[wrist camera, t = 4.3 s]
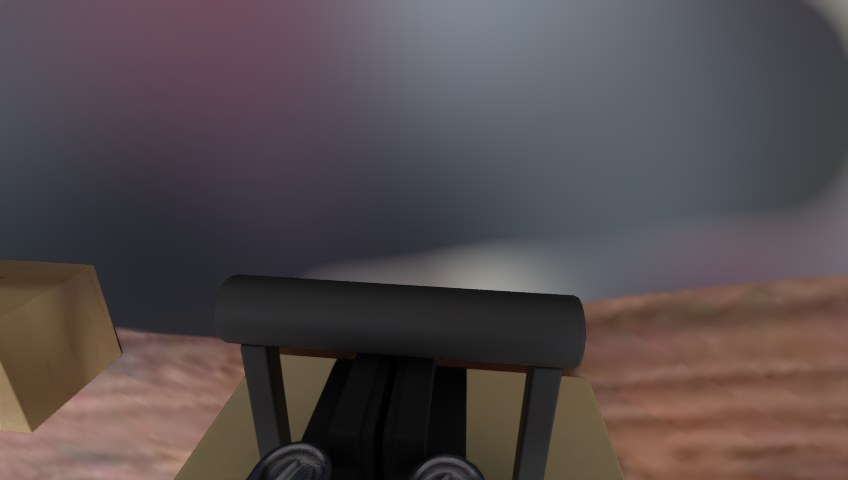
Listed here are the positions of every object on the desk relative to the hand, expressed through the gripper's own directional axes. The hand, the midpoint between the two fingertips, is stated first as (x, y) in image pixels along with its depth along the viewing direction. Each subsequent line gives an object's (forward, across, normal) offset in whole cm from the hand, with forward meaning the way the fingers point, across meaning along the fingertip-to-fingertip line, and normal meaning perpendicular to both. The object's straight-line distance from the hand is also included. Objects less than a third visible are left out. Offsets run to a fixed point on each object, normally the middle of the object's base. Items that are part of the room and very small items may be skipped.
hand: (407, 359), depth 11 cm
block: (+4, +14, +2) cm, 15 cm away
